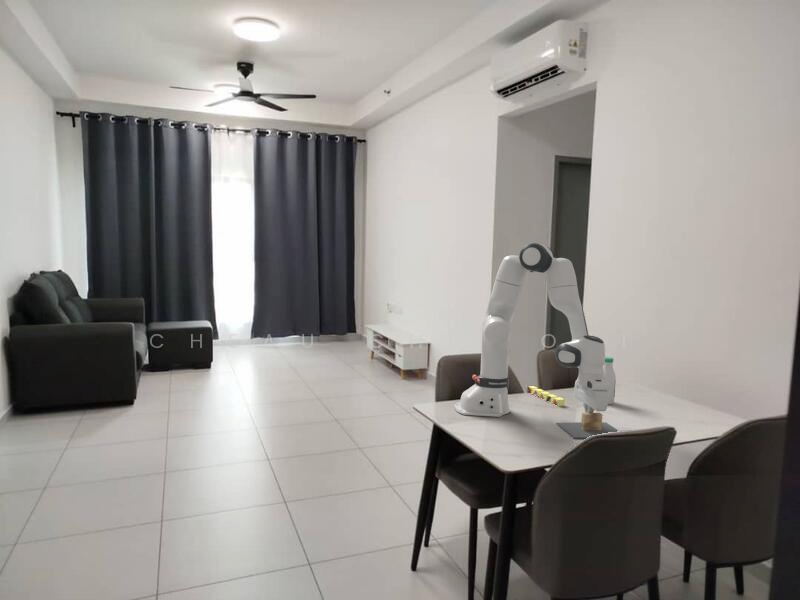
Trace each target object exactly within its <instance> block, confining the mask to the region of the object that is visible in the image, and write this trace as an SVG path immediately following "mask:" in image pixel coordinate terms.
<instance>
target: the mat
mask: <svg viewBox="0 0 800 600" xmlns="http://www.w3.org/2000/svg"><path fill="white" fill-rule="evenodd" d="M555 424H556V425H557V426H558V427H560V429H561V430H563V431H564V432H565V433H566V434H567V435H569V436H570V437H573V438H572V439H573V440H585V439H584V438H587V437H589V436H592V435H597V434H602V433H608V432H617V431H619V430H618V429H617V428H616V427H614V426H613V425H611V424H609V422H604V421H602V430H582V429H581V422H580V421H579V422H578V421H577V422H575V421H574V422H556V423H555ZM578 438H580V439H578Z"/></svg>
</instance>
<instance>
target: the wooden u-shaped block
mask: <svg viewBox="0 0 800 600" xmlns="http://www.w3.org/2000/svg"><path fill="white" fill-rule="evenodd" d="M603 416H604V415H603V413H601V412H593V413H585V412H582V413H581V429H582V430H602V422H603Z"/></svg>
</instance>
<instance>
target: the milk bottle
mask: <svg viewBox="0 0 800 600" xmlns="http://www.w3.org/2000/svg"><path fill="white" fill-rule="evenodd" d="M613 363H614V358H613V357H609V356H605V362H604V365H603V370H604V377H605V379H606V381H607V382H608V383H609V385H610V389H609V390H607V391H608V405H613V404H614V403H615V398H616V397H615V396H616V395H615V394H616V381H617V380H616V379H617V378H616V372H615V370H614V367H613Z"/></svg>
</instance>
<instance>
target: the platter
mask: <svg viewBox="0 0 800 600" xmlns="http://www.w3.org/2000/svg"><path fill="white" fill-rule="evenodd" d="M526 391H527V392H526V393H528V394H529V393H533V394H532V395H534V394H535V395H536V396H540V397H539V399H540V398H542V399H546V400H545V401H546V402H547V401H549V402H553V403H552V404H555V405H557V406H556V407H564V406H565V399H564V398H562V397H560V396H559V397H558V395H555V394H553V393H552V394H551V392H548V391H545V390H543V389H542V388H538V387H537V386H533V385H531V386H527V390H526ZM536 396H535V397H536ZM542 399H541V400H542ZM549 402H548V403H549ZM555 405H554V406H555ZM563 405H564V406H563Z"/></svg>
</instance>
